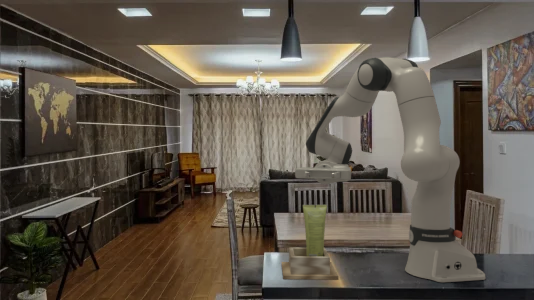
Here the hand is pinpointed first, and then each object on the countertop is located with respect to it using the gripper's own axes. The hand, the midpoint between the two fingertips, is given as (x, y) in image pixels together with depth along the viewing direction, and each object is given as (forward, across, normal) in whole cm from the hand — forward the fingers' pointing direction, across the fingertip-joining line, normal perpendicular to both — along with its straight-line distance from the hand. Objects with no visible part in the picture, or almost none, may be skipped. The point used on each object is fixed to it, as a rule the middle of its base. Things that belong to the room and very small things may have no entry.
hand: (320, 175), depth 149 cm
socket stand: (+20, 0, +28) cm, 34 cm away
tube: (+20, +2, +27) cm, 34 cm away
